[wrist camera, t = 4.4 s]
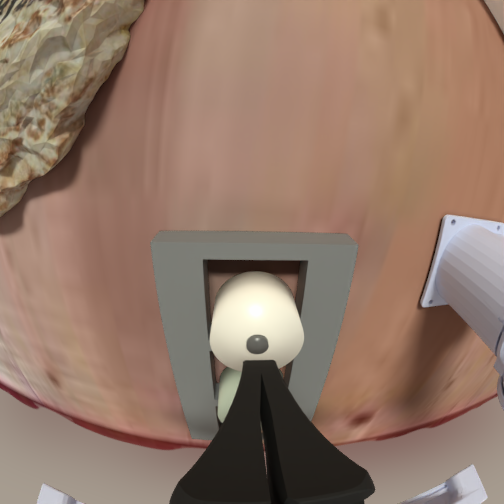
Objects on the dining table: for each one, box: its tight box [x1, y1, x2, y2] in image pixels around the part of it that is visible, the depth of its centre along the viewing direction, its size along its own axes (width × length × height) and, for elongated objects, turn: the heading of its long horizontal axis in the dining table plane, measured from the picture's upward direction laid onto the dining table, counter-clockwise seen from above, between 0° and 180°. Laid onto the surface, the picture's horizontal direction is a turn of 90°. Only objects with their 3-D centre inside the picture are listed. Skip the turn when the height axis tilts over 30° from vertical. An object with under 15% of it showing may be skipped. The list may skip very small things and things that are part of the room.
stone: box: [0, 0, 144, 217], centre depth 9 cm, size 19×6×25 cm
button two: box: [218, 367, 283, 430], centre depth 17 cm, size 5×5×4 cm
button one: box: [210, 271, 304, 372], centre depth 15 cm, size 5×5×4 cm
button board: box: [150, 231, 358, 440], centre depth 20 cm, size 12×22×2 cm, turn 179°
